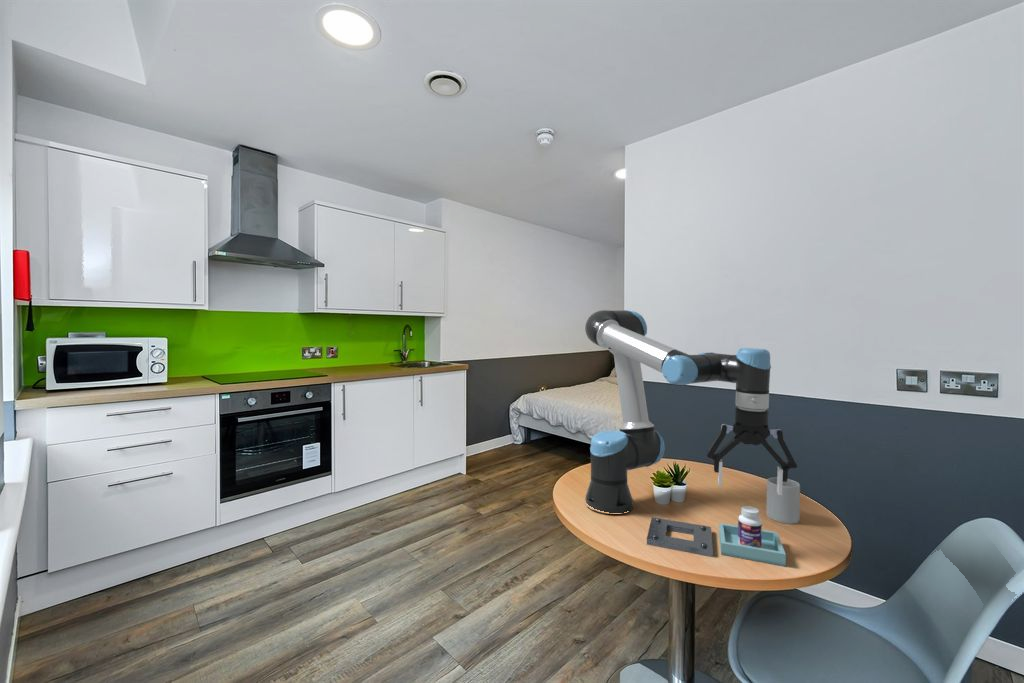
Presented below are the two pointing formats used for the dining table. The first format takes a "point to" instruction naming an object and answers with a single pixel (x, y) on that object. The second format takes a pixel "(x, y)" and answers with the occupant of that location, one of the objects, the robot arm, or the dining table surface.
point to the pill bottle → (750, 527)
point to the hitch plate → (698, 546)
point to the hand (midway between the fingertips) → (748, 488)
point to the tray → (767, 553)
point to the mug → (783, 501)
